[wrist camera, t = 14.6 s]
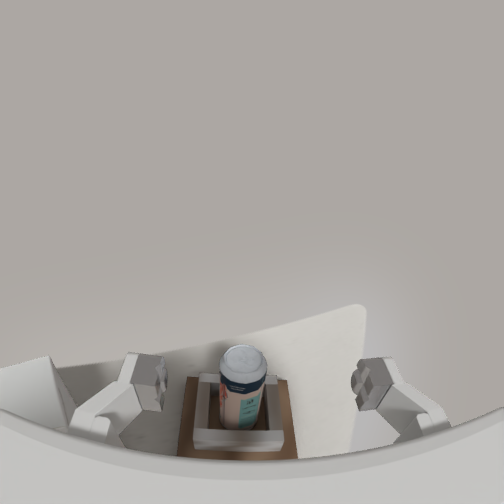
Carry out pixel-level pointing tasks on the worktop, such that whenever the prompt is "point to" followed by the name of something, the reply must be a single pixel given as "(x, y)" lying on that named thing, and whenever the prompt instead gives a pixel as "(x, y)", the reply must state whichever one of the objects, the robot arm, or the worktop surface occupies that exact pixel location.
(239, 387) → the beer can
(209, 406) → the socket base
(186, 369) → the worktop surface
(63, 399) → the supplement box
